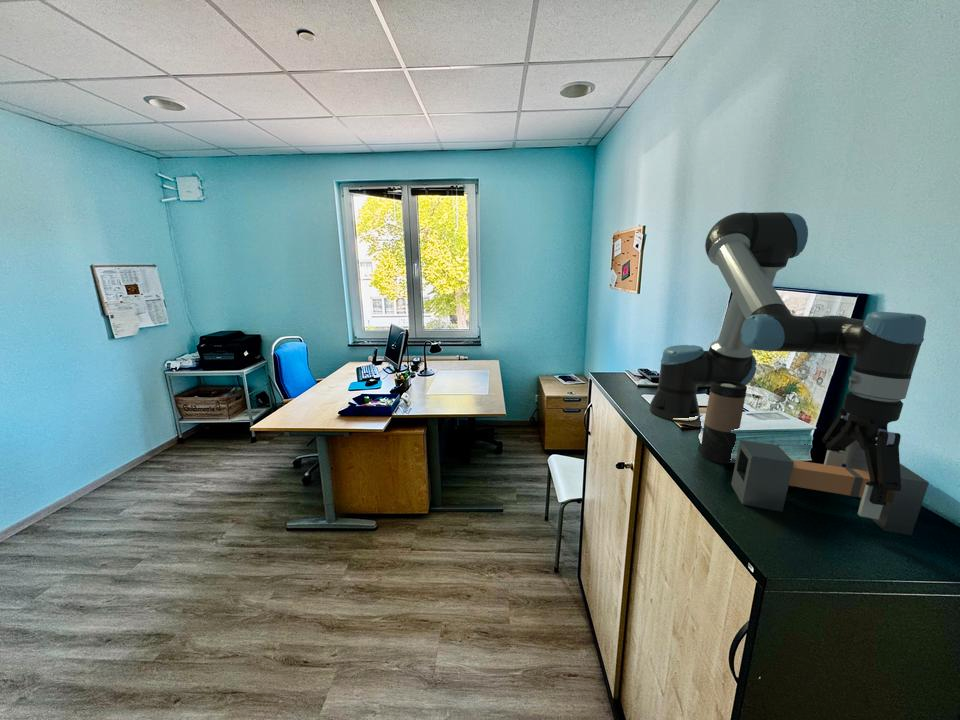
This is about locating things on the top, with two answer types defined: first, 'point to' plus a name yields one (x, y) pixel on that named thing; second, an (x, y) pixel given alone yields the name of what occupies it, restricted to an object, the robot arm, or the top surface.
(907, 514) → the socket
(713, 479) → the top surface
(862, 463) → the beverage can
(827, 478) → the orange bar
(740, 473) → the sleeve
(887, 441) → the robot arm
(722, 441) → the travel mug
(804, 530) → the top surface
